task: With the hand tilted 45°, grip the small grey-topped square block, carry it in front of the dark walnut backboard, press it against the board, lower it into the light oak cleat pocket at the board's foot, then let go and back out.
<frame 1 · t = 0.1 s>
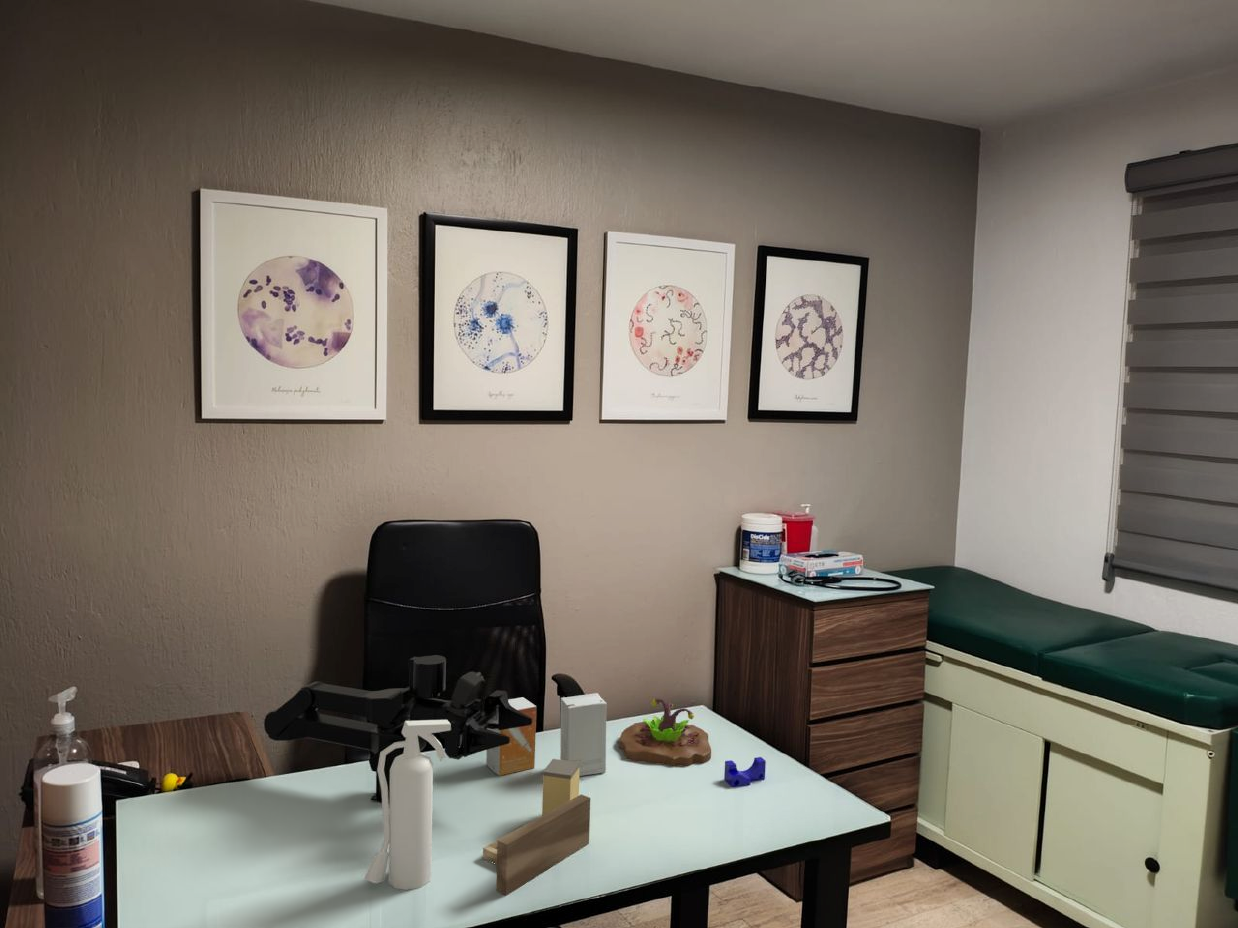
hand: (521, 730, 153), 17 cm above the table, tool horizontal, fingers open, 9 cm apart
fire extinguisher: (406, 879, 135), on the table
cable holder: (746, 782, 173), on the table
small box: (510, 767, 177), on the table
wall board: (523, 855, 143), on the table
plant: (664, 749, 189), on the table
skincare box: (582, 771, 176), on the table
grey-topped square block: (560, 821, 155), on the table
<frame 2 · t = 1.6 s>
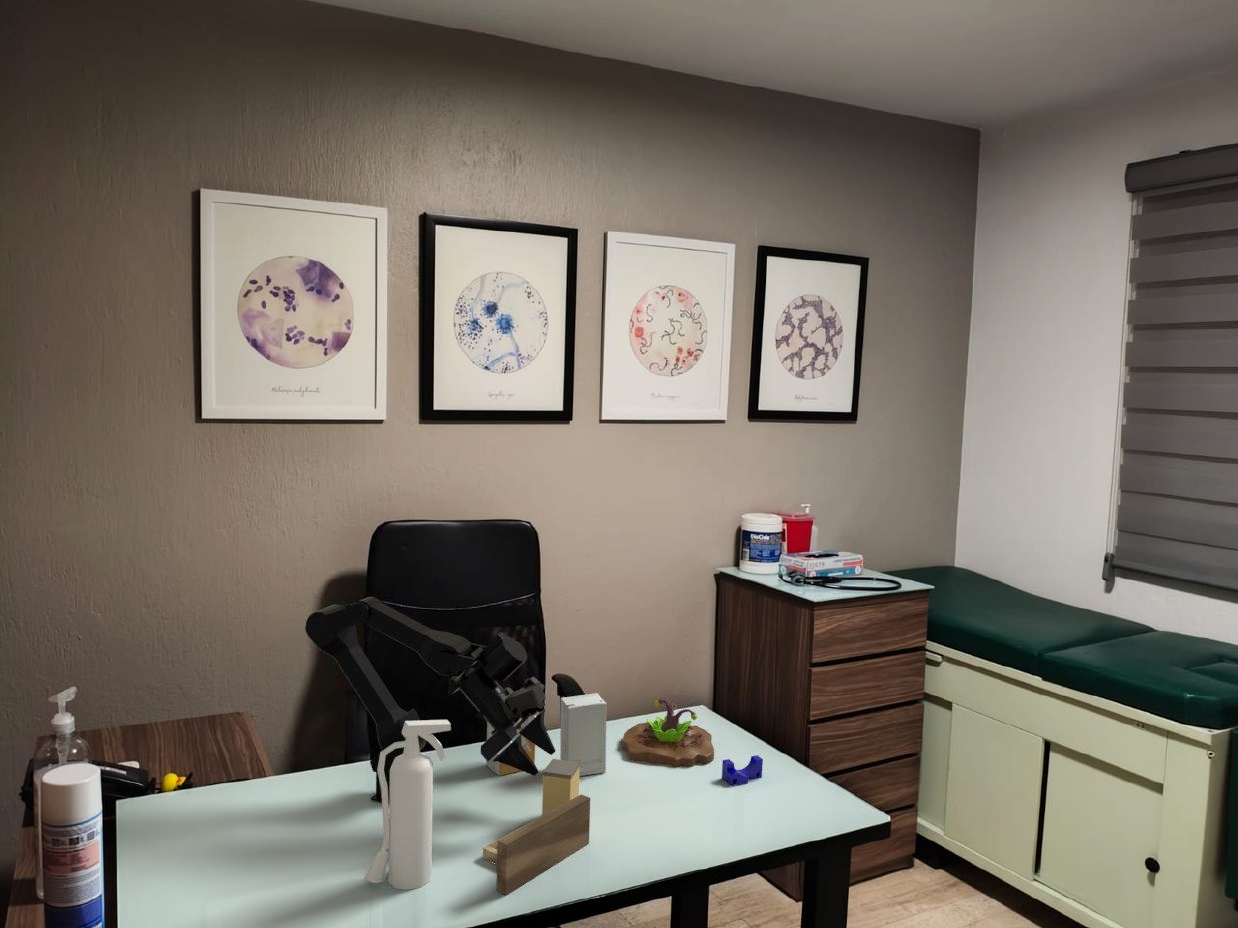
hand: (545, 763, 155), 10 cm above the table, tool tilted 45°, fingers open, 9 cm apart
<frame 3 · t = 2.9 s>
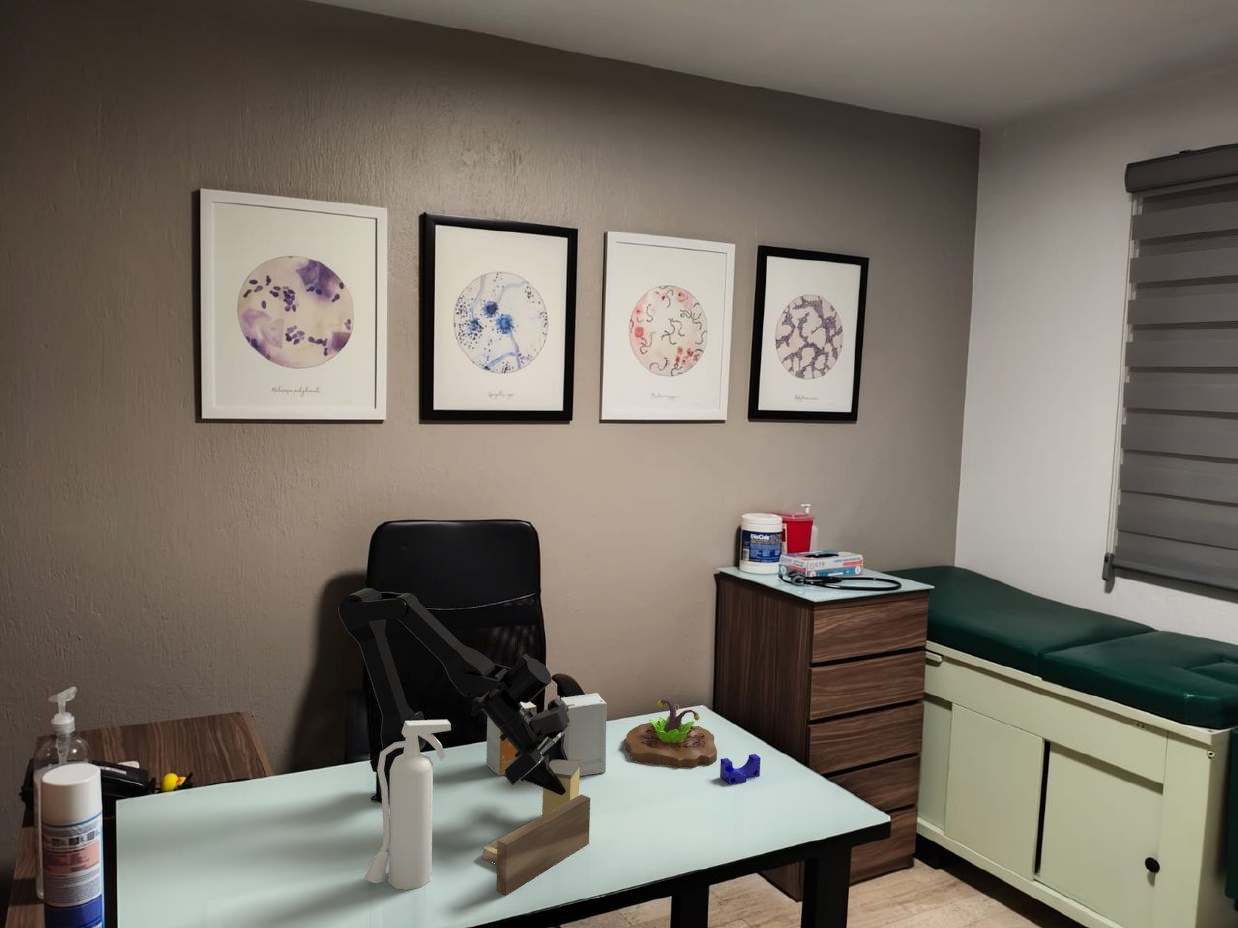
hand: (568, 786, 154), 7 cm above the table, tool tilted 45°, fingers closed on grey-topped square block, 5 cm apart
grey-topped square block: (560, 821, 155), on the table, touching gripper
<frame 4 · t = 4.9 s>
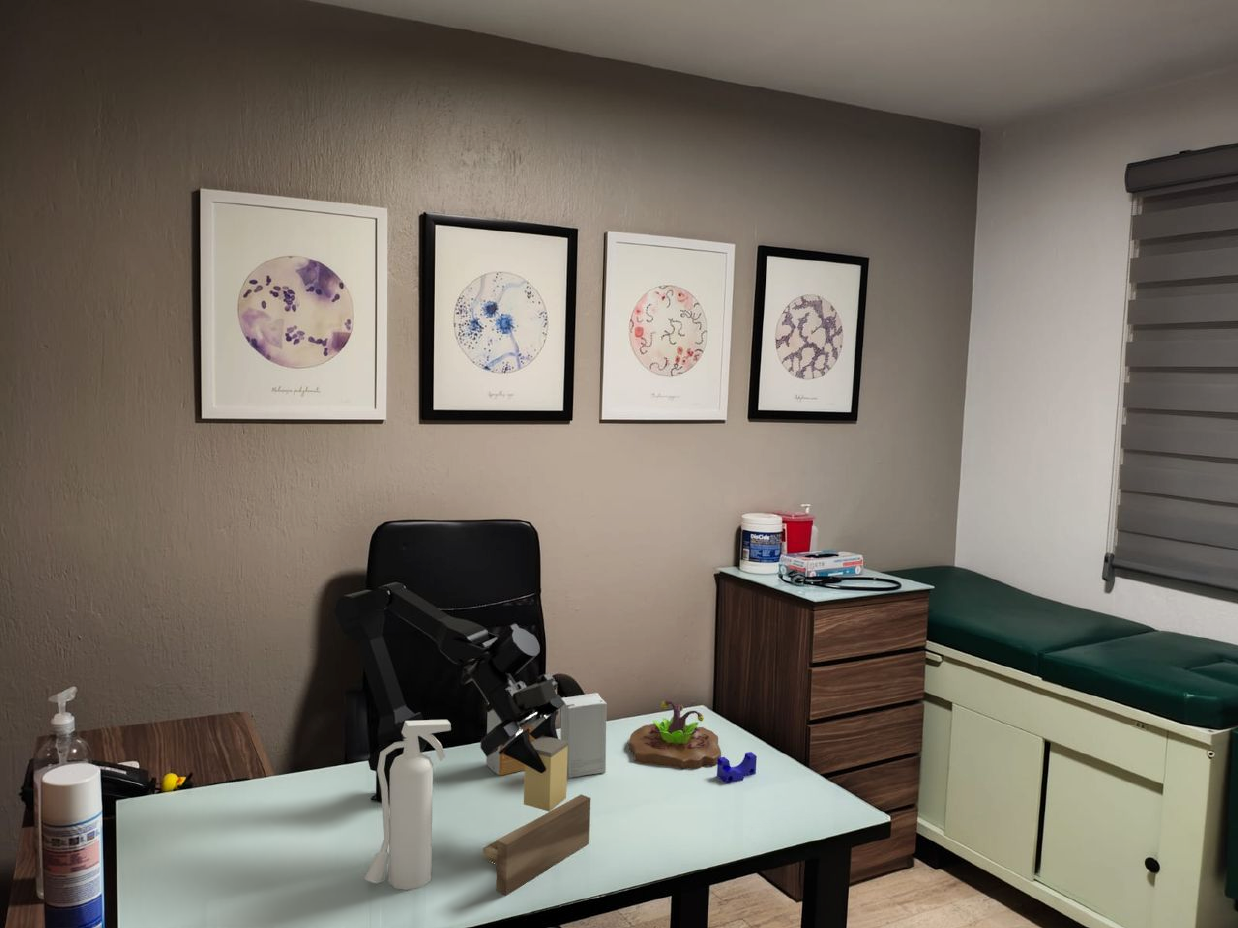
hand: (553, 765, 146), 13 cm above the table, tool tilted 45°, fingers closed on grey-topped square block, 5 cm apart
grey-topped square block: (545, 801, 147), point 7 cm above the table, touching gripper
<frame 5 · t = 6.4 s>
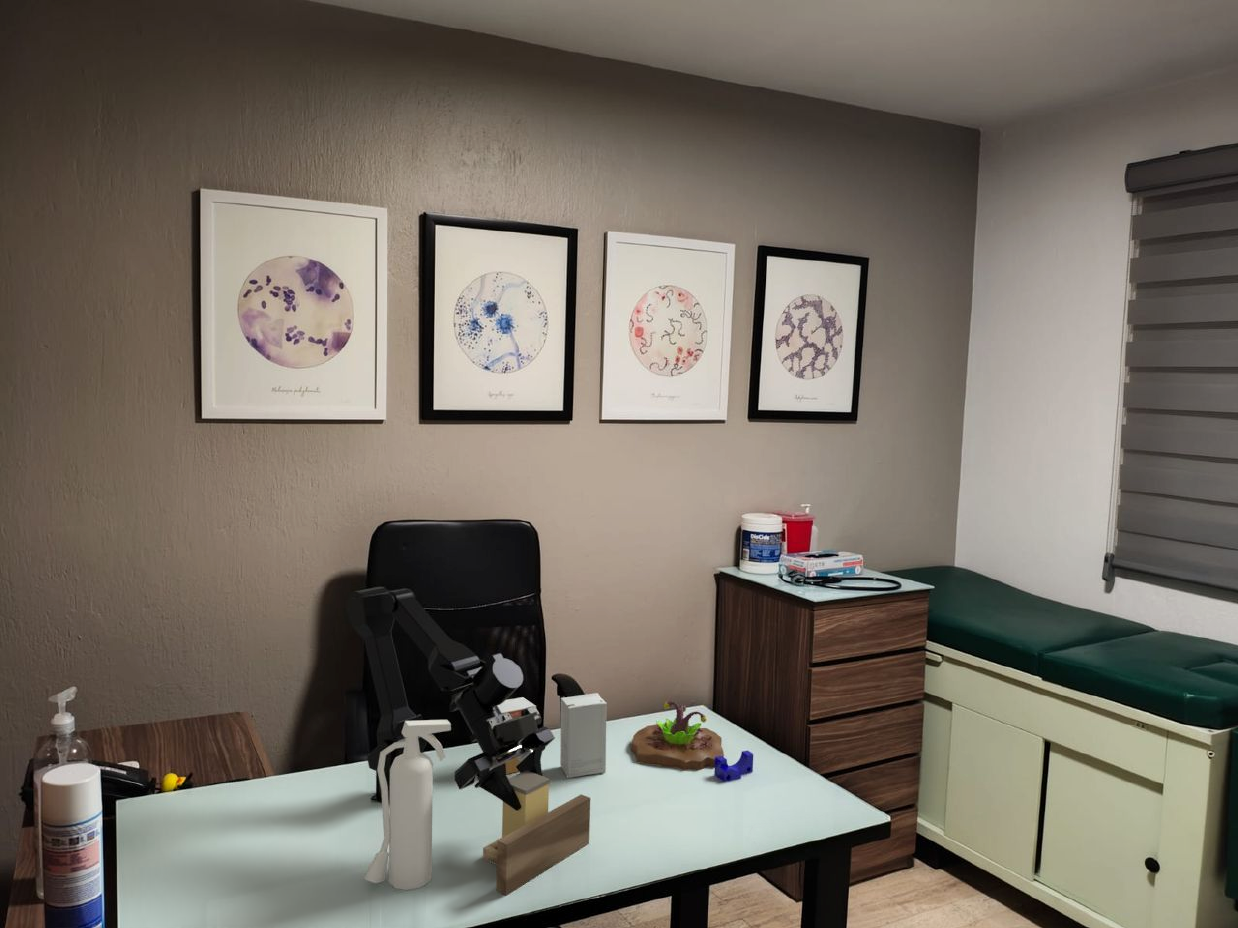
hand: (531, 802, 141), 10 cm above the table, tool tilted 45°, fingers closed on grey-topped square block, 5 cm apart
grey-topped square block: (524, 839, 142), point 3 cm above the table, touching gripper
when the fingers open (7 cm above the table, at t = 7.7 s): grey-topped square block stays where it is, resting in wall board.
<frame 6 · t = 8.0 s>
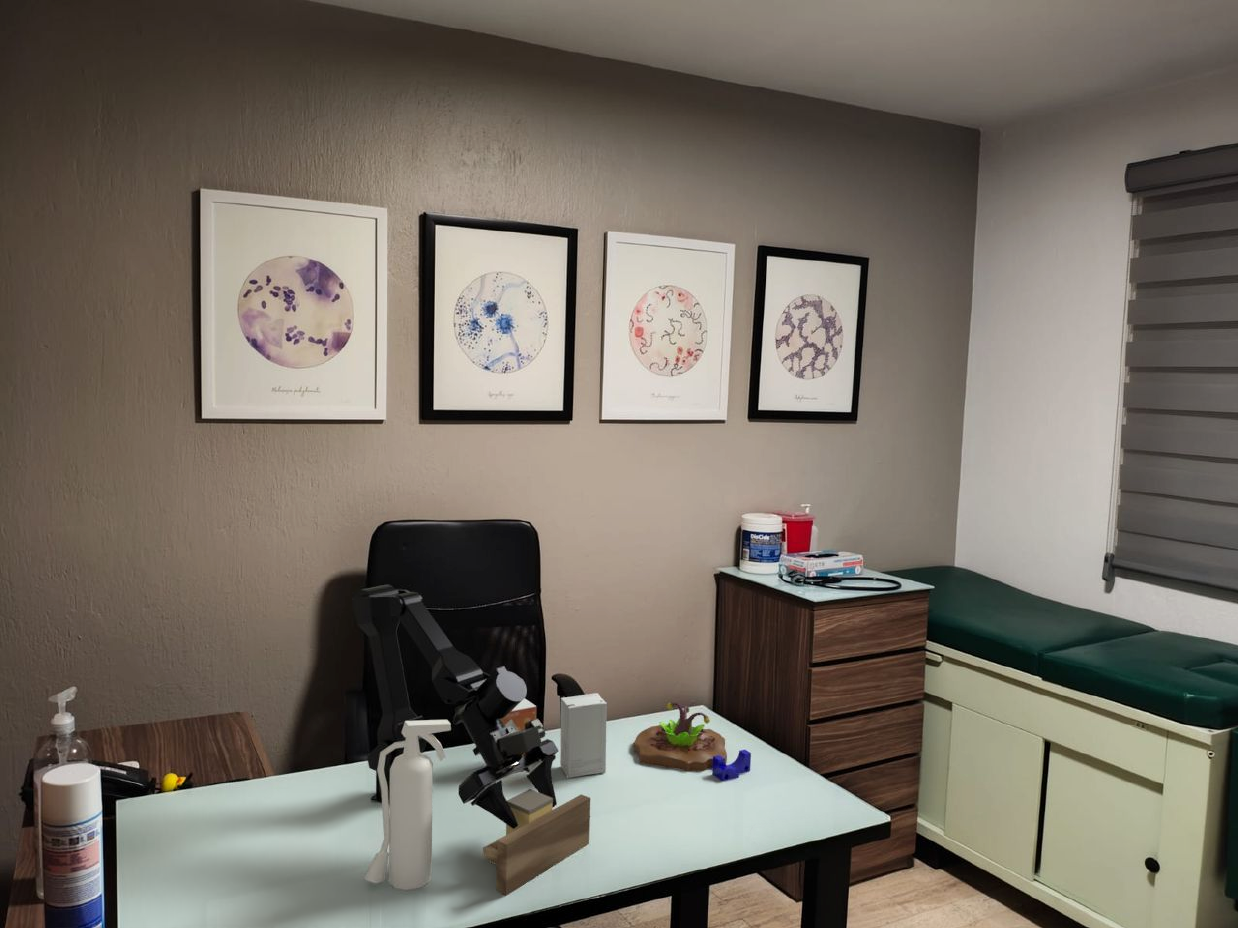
hand: (535, 816, 141), 8 cm above the table, tool tilted 45°, fingers open, 9 cm apart
grey-topped square block: (528, 858, 142), resting in wall board
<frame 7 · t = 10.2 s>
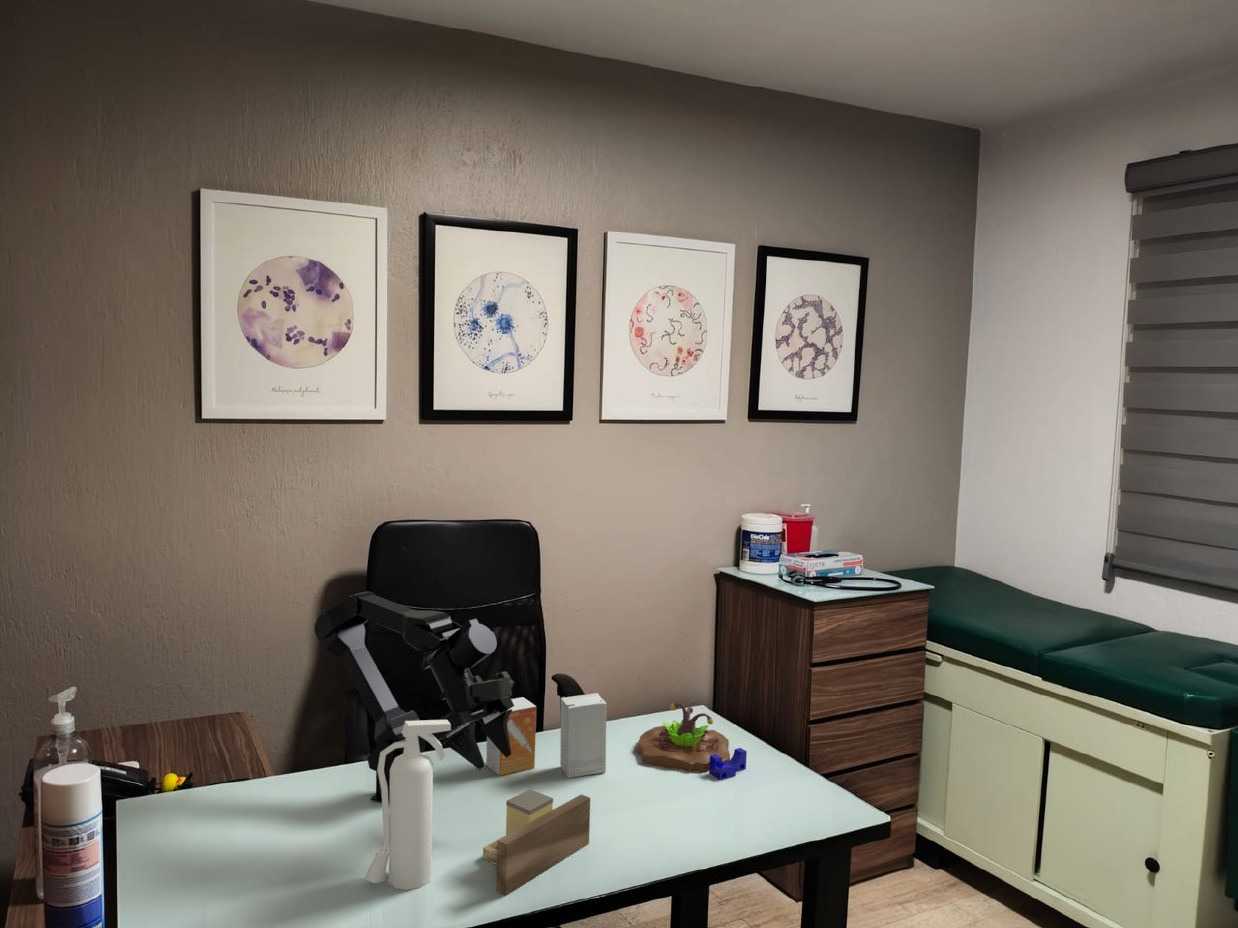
hand: (496, 761, 148), 13 cm above the table, tool tilted 40°, fingers open, 9 cm apart
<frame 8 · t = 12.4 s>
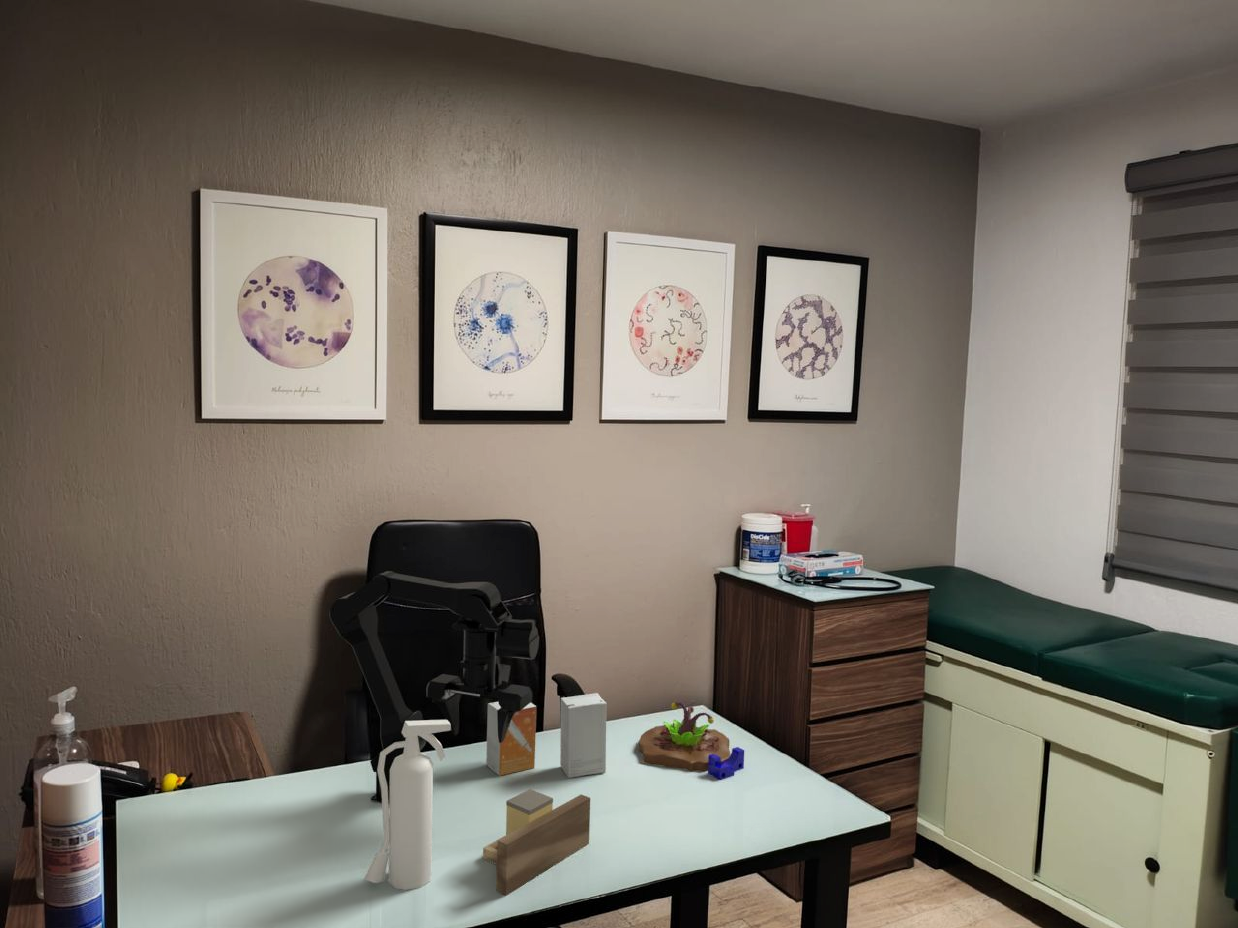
hand: (478, 738, 158), 13 cm above the table, tool pointing down, fingers open, 9 cm apart
at the end: grey-topped square block 0.6 cm off-centre on the wall board, point 0.0 cm above the wall board's base; grey-topped square block tilted 0°; the gripper is holding nothing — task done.
